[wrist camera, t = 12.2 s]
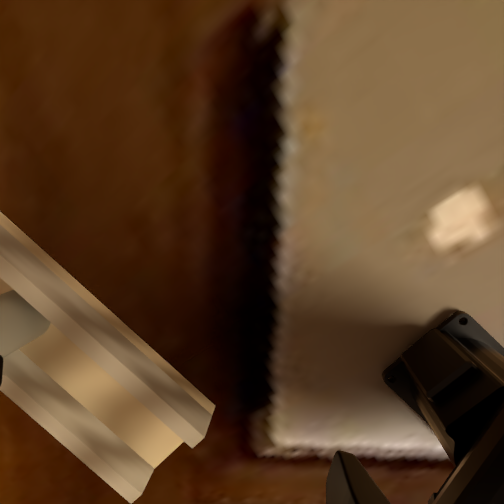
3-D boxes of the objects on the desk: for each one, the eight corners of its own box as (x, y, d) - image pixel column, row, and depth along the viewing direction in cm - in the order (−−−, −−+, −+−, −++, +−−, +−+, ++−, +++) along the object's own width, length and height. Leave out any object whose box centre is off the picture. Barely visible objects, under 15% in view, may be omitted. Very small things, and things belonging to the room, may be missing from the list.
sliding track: (215, 405, 23) (204, 437, 20) (150, 466, 25) (131, 503, 22) (-1, 210, 22) (-46, 213, 19) (-54, 287, 24) (-103, 300, 21)
